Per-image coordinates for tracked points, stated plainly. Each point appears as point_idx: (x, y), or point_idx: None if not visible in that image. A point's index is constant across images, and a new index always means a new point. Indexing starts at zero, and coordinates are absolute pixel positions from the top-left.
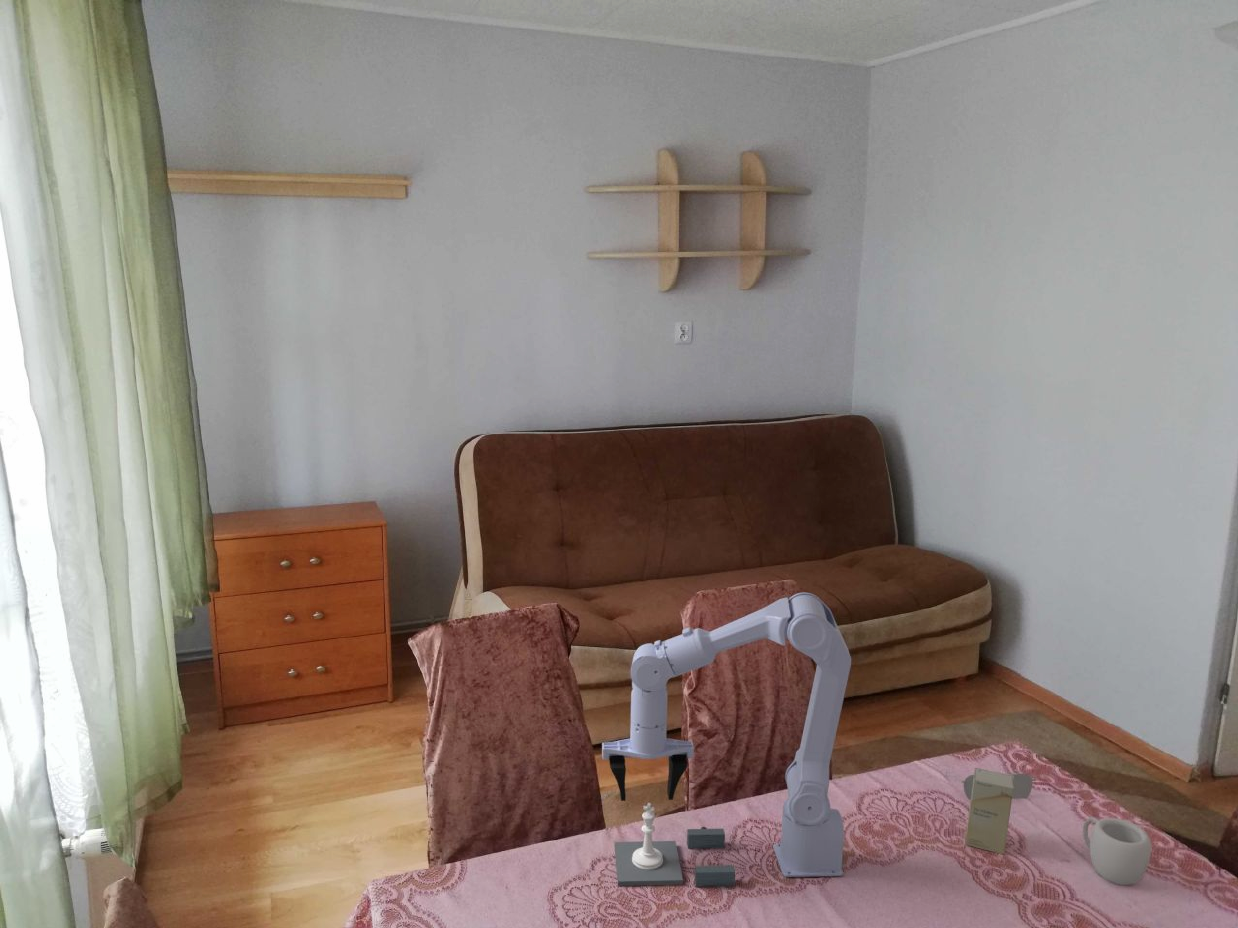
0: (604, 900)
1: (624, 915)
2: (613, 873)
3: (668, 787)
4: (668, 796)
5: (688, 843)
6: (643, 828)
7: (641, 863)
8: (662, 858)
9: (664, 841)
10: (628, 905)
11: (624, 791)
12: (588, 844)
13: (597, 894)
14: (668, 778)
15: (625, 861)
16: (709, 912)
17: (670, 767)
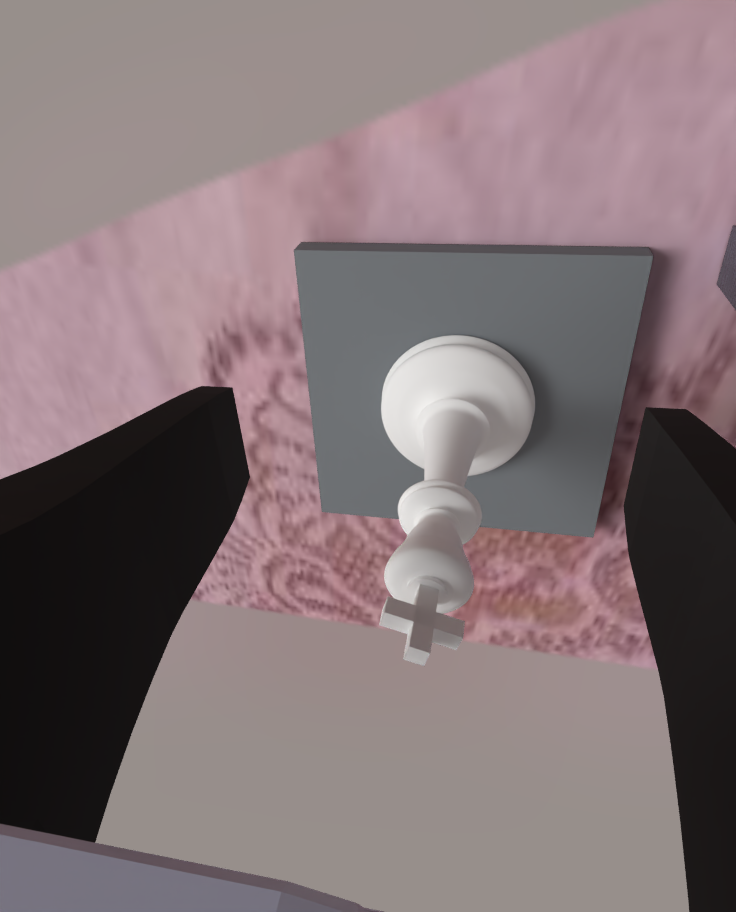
0: (283, 552)
1: (351, 614)
2: (306, 432)
3: (654, 502)
4: (631, 490)
5: (726, 295)
6: (407, 524)
7: (418, 465)
8: (529, 431)
9: (581, 260)
10: (365, 582)
11: (206, 558)
12: (169, 219)
13: (256, 525)
14: (690, 496)
15: (351, 405)
16: (647, 647)
17: (727, 764)
